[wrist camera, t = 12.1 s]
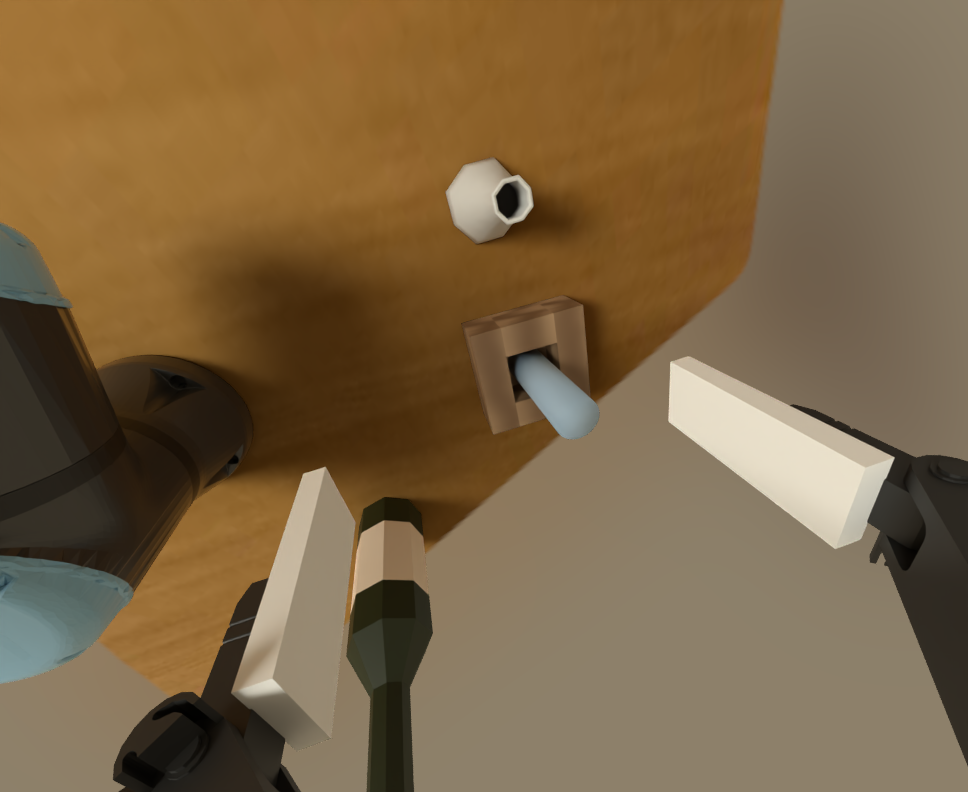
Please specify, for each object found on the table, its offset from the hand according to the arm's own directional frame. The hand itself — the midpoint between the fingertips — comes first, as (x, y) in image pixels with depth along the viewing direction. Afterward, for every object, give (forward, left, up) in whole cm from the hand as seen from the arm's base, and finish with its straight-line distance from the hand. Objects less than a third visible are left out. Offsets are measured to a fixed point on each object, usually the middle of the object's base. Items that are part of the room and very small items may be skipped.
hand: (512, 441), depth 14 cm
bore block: (+8, -10, -29) cm, 31 cm away
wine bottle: (-14, -28, -29) cm, 43 cm away
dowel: (+8, -10, -28) cm, 31 cm away
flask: (+7, +7, -29) cm, 31 cm away
